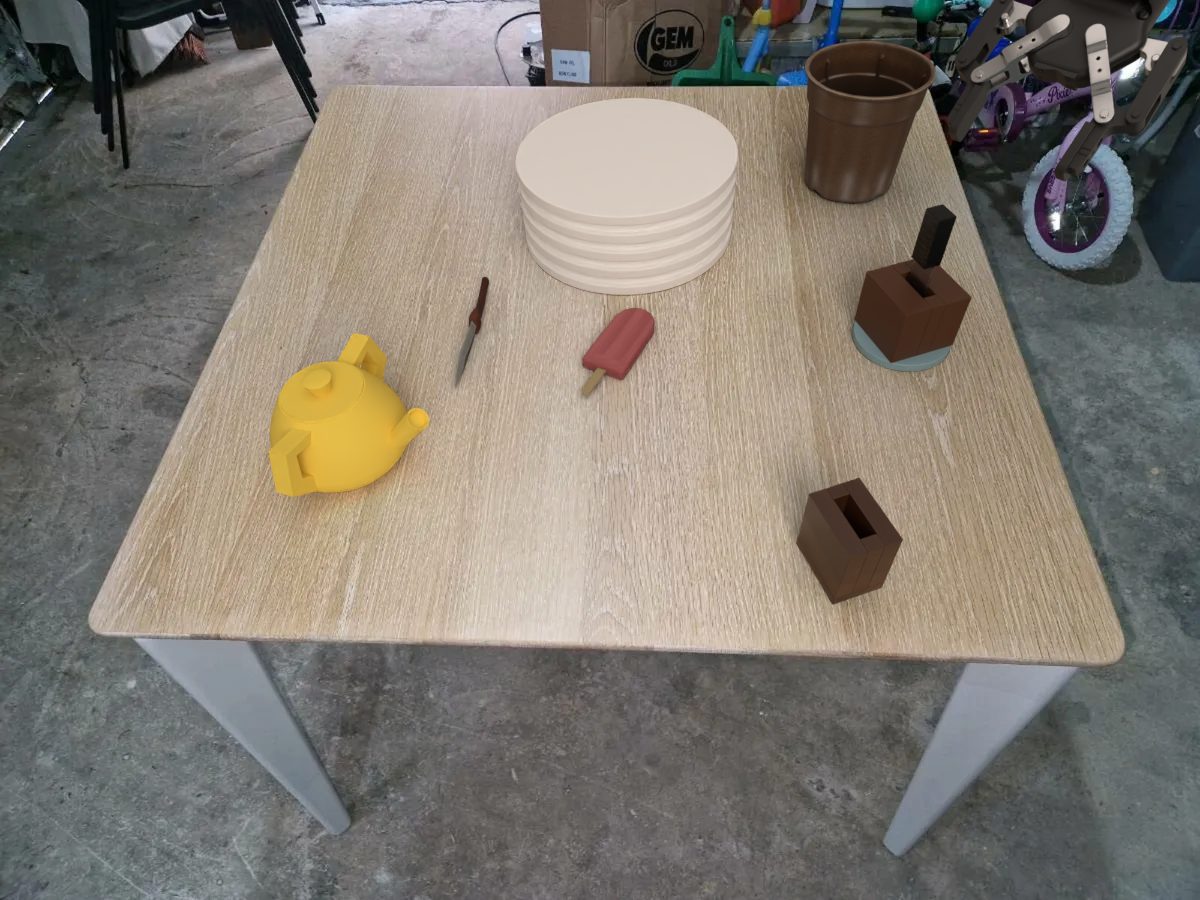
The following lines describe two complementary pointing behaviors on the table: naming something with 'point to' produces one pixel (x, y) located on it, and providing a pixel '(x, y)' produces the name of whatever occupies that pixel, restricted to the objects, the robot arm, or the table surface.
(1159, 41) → the robot arm
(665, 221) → the plate stack
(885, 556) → the knife block
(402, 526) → the table surface
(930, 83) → the plant pot
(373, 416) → the teapot
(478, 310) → the knife
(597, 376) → the popsicle
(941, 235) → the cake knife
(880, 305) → the slotted wooden stand
